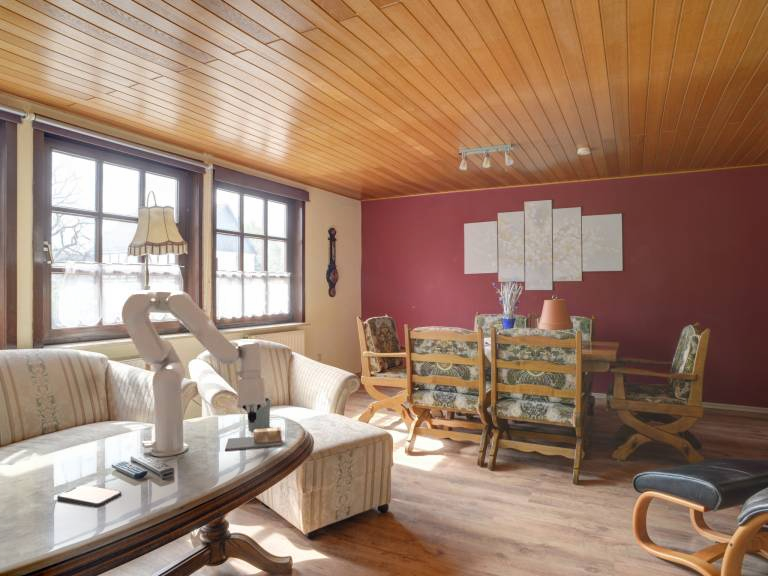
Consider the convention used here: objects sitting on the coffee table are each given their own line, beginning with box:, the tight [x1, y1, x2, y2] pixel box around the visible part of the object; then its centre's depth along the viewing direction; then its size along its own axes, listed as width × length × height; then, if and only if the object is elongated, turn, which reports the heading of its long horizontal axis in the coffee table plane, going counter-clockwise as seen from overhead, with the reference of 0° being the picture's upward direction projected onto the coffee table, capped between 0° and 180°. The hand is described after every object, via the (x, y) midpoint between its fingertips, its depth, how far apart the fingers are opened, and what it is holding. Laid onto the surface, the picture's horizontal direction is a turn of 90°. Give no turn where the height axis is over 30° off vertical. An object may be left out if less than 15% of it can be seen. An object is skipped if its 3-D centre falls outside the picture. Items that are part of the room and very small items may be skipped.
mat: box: [224, 436, 282, 452], centre depth 190 cm, size 20×12×1 cm, turn 102°
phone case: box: [56, 484, 122, 508], centre depth 144 cm, size 9×2×16 cm
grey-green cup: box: [246, 397, 272, 432], centre depth 209 cm, size 10×10×12 cm
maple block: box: [253, 426, 282, 443], centre depth 191 cm, size 4×4×10 cm
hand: (252, 422), depth 189 cm, fingers closed
